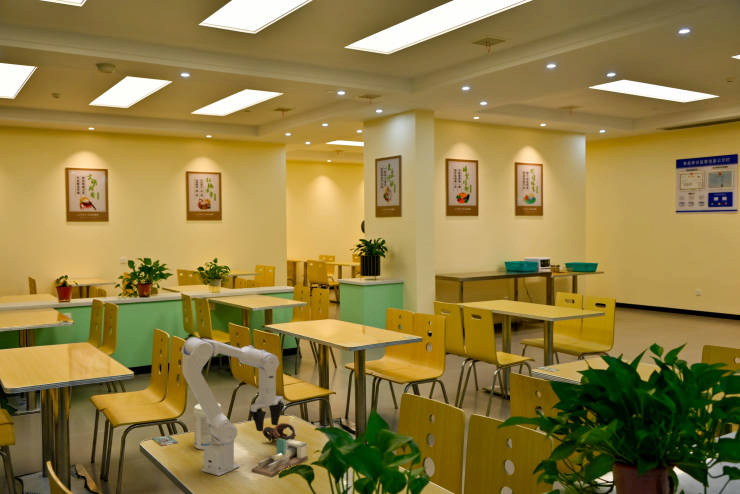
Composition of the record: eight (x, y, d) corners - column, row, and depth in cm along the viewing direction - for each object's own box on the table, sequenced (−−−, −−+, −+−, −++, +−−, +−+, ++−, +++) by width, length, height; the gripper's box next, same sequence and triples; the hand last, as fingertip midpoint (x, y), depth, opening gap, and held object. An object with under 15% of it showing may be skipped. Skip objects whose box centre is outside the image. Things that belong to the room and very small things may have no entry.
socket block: (300, 458, 213) (300, 445, 213) (283, 454, 217) (283, 441, 217) (306, 456, 216) (306, 442, 216) (289, 452, 220) (289, 439, 220)
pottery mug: (293, 439, 238) (298, 423, 234) (289, 458, 230) (294, 442, 226) (262, 431, 237) (266, 415, 233) (257, 450, 229) (261, 434, 225)
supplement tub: (227, 444, 231) (227, 403, 231) (210, 452, 222) (210, 410, 222) (205, 440, 235) (205, 400, 235) (188, 448, 226) (188, 407, 226)
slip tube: (277, 465, 207) (277, 443, 207) (270, 463, 208) (270, 441, 208) (300, 454, 217) (300, 433, 217) (293, 453, 219) (293, 431, 218)
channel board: (271, 477, 200) (271, 467, 200) (251, 471, 204) (251, 462, 204) (307, 459, 216) (307, 450, 216) (288, 454, 220) (288, 446, 220)
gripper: (261, 394, 208) (261, 435, 208) (290, 385, 220) (290, 424, 220) (245, 391, 212) (245, 431, 212) (274, 382, 224) (274, 421, 224)
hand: (267, 427), depth 216 cm, fingers open, 7 cm apart
